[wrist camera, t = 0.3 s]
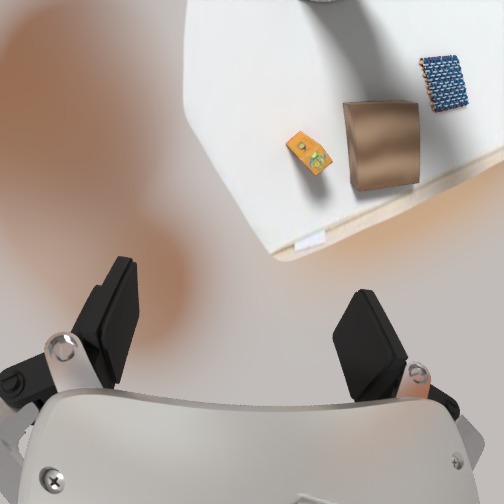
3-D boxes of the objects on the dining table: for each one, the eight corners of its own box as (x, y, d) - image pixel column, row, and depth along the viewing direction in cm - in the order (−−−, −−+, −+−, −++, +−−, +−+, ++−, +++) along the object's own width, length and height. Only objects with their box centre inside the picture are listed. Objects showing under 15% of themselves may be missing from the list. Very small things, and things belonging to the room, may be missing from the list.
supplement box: (298, 158, 43) (314, 178, 34) (284, 143, 41) (298, 158, 33) (314, 146, 42) (334, 162, 33) (300, 130, 40) (318, 141, 32)
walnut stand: (342, 102, 38) (352, 104, 34) (405, 100, 37) (418, 103, 33) (350, 183, 45) (359, 191, 42) (407, 175, 44) (419, 183, 41)
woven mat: (429, 113, 38) (436, 114, 36) (415, 58, 33) (421, 58, 31) (465, 104, 36) (471, 106, 35) (453, 54, 31) (459, 54, 29)
